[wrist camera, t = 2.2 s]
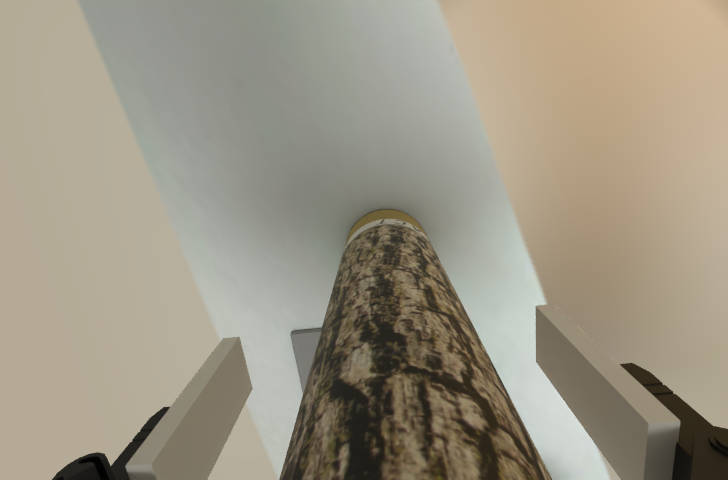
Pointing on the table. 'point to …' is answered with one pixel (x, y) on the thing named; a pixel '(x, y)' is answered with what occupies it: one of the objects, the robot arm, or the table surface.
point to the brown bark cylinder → (403, 375)
